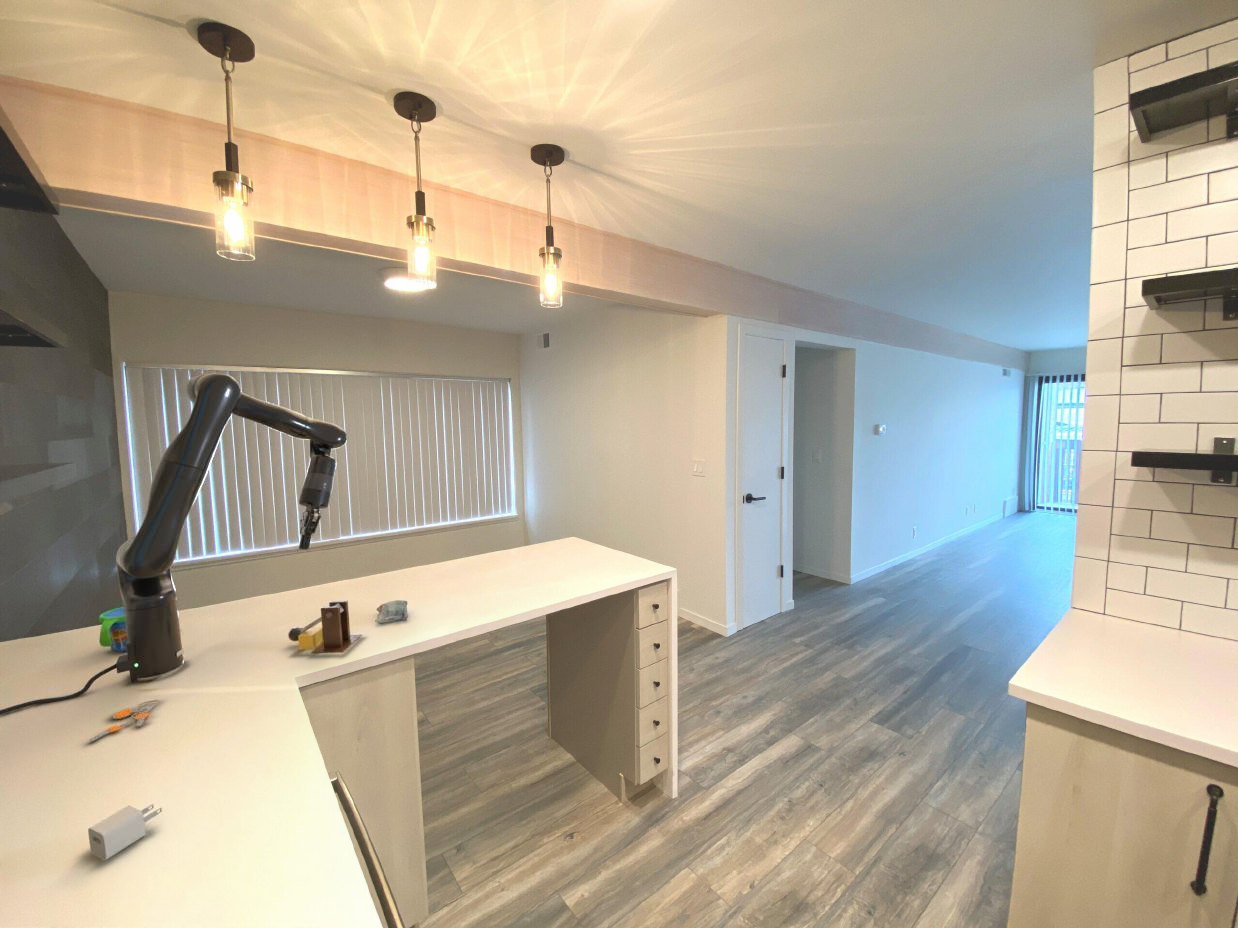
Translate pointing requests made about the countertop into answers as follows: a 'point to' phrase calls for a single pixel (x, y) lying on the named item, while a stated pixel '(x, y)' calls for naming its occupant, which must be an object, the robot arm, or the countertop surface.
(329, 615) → the brown lever base bracket
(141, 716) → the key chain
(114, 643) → the snack cup
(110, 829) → the usb wall charger
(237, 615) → the countertop surface
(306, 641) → the butter
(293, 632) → the ball-knob lever
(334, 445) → the robot arm
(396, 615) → the packaged food
